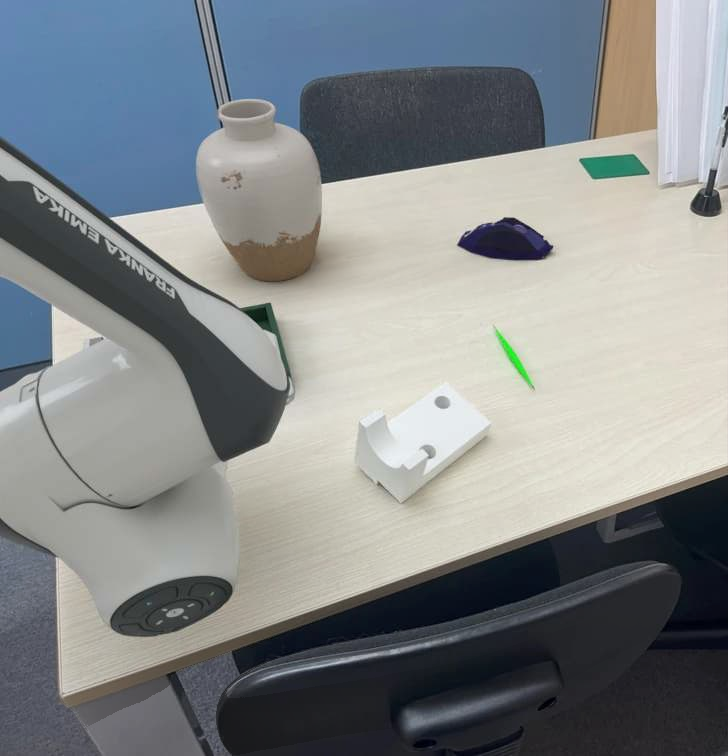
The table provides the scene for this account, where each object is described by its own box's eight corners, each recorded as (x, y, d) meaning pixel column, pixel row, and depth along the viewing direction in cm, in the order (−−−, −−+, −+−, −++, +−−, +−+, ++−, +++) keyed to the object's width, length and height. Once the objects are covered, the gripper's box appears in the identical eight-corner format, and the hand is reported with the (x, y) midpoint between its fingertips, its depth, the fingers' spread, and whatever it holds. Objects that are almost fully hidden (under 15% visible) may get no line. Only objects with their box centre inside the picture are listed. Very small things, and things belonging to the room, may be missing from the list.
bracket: (399, 507, 73) (409, 470, 67) (354, 462, 75) (359, 421, 69) (484, 440, 80) (499, 401, 74) (441, 400, 82) (452, 359, 76)
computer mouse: (470, 222, 115) (470, 200, 113) (559, 238, 113) (562, 215, 110) (452, 251, 109) (451, 227, 106) (546, 268, 106) (548, 244, 103)
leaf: (531, 393, 85) (531, 388, 84) (489, 326, 94) (489, 322, 94) (538, 391, 85) (539, 386, 84) (495, 325, 95) (495, 320, 94)
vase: (212, 249, 107) (170, 95, 92) (315, 228, 112) (292, 80, 97) (234, 305, 96) (190, 142, 81) (347, 278, 102) (326, 121, 87)
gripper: (293, 377, 56) (266, 283, 65) (-7, 441, 49) (11, 327, 59) (304, 433, 60) (278, 337, 69) (29, 500, 53) (41, 384, 63)
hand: (154, 333), depth 64 cm, fingers open, 8 cm apart
